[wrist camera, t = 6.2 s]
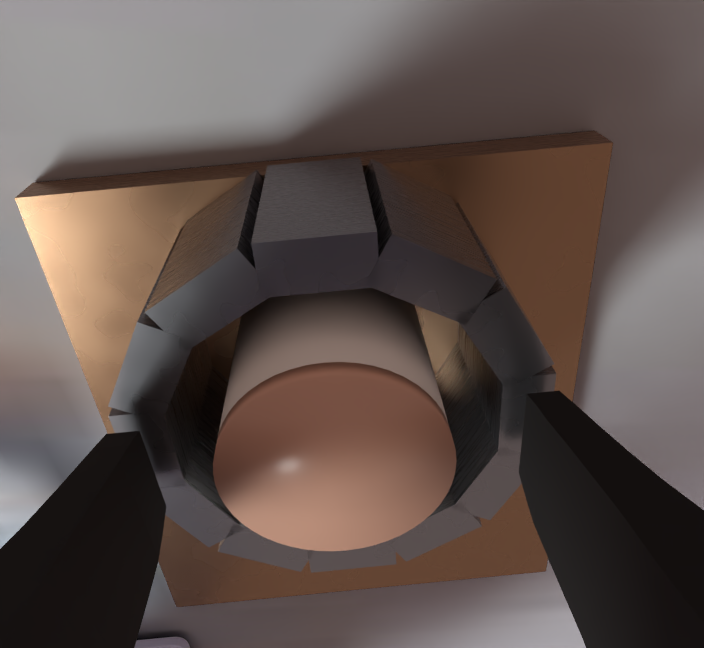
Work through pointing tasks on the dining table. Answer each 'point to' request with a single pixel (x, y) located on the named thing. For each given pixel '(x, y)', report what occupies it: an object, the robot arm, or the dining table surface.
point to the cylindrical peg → (332, 422)
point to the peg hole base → (326, 276)
